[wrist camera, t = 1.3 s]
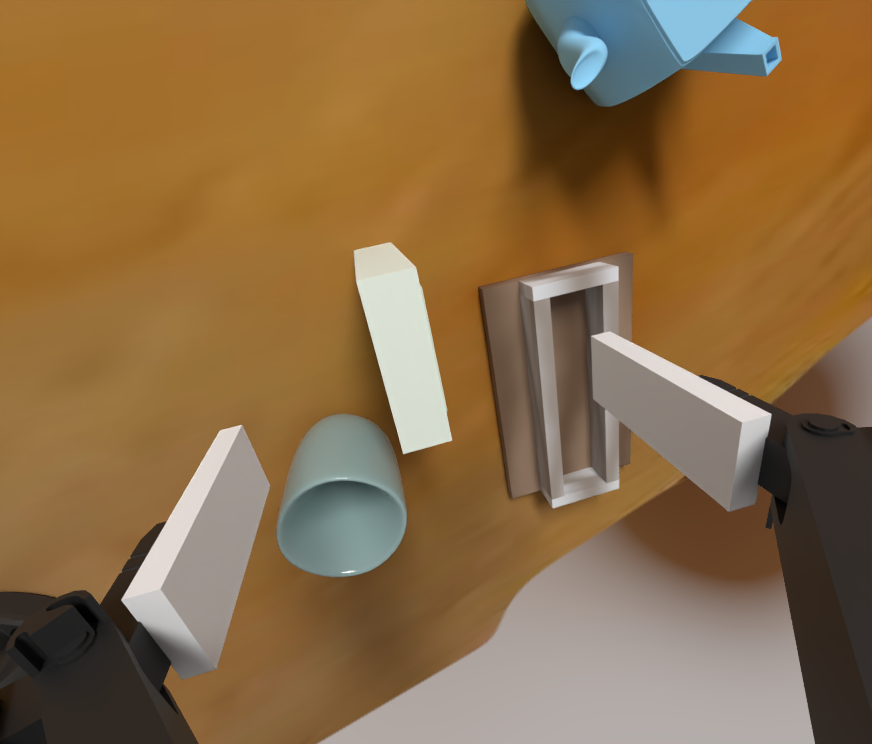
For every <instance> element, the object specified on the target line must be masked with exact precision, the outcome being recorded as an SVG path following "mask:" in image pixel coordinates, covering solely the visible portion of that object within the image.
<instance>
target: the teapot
mask: <svg viewBox="0 0 872 744" xmlns="http://www.w3.org/2000/svg"><path fill="white" fill-rule="evenodd" d="M750 2H751V0H526V5H527V7H528V9H529V11H530V13H531V14H532V16H533V17H534V19H535V21H536V22H537V24H538V25H539V27H540V29H541V30H542V32H543V33H544V35H545V36H546V38H547V39H548V41H549V42H550V44H551V45H552V47H553V48H554V49H555V51H556V52H557V54H558V57H559V60H560V63H561V65H562V67H563V69H564V70H565V72H566V73H567V74H568V75H569V76H570V77H571V85H572V87H573V88H574V89H575V90H581V89H583V90H584V91H585V93H586V94H587V95H588V96H589V98H590V99H591V100H592V101H593V102H594V103H595V104H596V105H597V106H602V107H611V106H614V105H617V104H620V103H622V102H625V101H627V100H629V99H631V98H633V97H635V96H637V95H639V94H641V93H643V92H644V91H646V90H648V89H650V88H651V87H653V86H655V85H656V84H658V83H659V82H661V81H663V80H664V79H666V78H667V77H669V76H670V75H672V74H673V73H675V72H677V71H678V70H680V69H689V70H700V71H711V72H722V73H733V74H744V75H755V76H767V75H768V74H769V73H770V72H771V71H772V70H773V69H774V68H775V67H776V66H777V64H778V63H779V62H780V61H781V60H782V58H781V52H780V47H779V42H778V37H775V38H773V37H771V36H769V35H767V34H765V33H763V32H761V31H759V30H757V29H756V28H754V27H752V26H750V25H748V24H746V23H744V22H742V21H740V20H739V19H737V18H736V17H737V15H738V14H739V13H740V12H741V11H742V10H743V9H744V8H745V7H746V6H747V5H748V4H749V3H750Z"/></svg>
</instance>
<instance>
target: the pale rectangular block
mask: <svg viewBox="0 0 872 744" xmlns="http://www.w3.org/2000/svg"><path fill="white" fill-rule="evenodd" d="M354 260H355V273H356V282H357V286H358V290H359V293H360V297H361V301H362V304H363V308H364V312H365V315H366V319H367V323H368V326H369V330H370V334H371V337H372V341H373V345H374V348H375V352H376V356H377V359H378V363H379V367H380V370H381V374H382V378H383V381H384V385H385V389H386V392H387V396H388V400H389V403H390V407H391V411H392V414H393V418H394V422H395V425H396V429H397V433H398V436H399V440H400V444H401V447H402V451H403V454H405V453H409V452H413V451H416V450H420V449H424V448H427V447H431V446H434V445H438V444H442V443H445V442H449V441H452V438H451V433H450V428H449V423H448V418H447V414H446V412H447V407H446V402H445V397H444V392H443V388H442V383H441V378H440V373H439V368H438V363H437V359H436V354H435V349H434V344H433V339H432V334H431V329H430V325H429V320H428V315H427V310H426V305H425V300H424V296H423V291H422V286H421V285H420V284H419V279H418V274H417V270H416V267H415V266H414V265H413V264H412V263H411V262H410V261H409V260H408V259H407V258H406V257H405V256H404V255H403V254H402V253H401V252H400V251H399V250H398V249H397V248H396V247H395V246H394V245H393V244H392V243H391V242H390V243H385V244H381V245H376V246H372V247H367V248H363V249H358V250H354Z"/></svg>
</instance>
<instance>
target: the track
mask: <svg viewBox="0 0 872 744" xmlns="http://www.w3.org/2000/svg"><path fill="white" fill-rule="evenodd" d="M632 267H633V254H632V253H627V252H623V253H619V254H615V255H610V256H606V257H602V258H598V259H594V260H590V261H585V262H581V263H577V264H573V265H569V266H564V267H560V268H556V269H552V270H548V271H544V272H539V273H535V274H531V275H527V276H523V277H518V278H514V279H510V280H506V281H502V282H498V283H493V284H489V285H485V286H481V287H478V288H479V294H480V301H481V308H482V315H483V321H484V328H485V335H486V342H487V348H488V355H489V362H490V369H491V375H492V382H493V389H494V396H495V403H496V409H497V416H498V423H499V430H500V436H501V443H502V450H503V457H504V463H505V470H506V477H507V484H508V490H509V493H510V495H511V497H512V499H513V498H516V497H520V496H523V495H526V494H530V493H533V492H537V491H540V490H541V492H542V493H543V495H544V496H545V498H546V499H547V501H548V502H549V504H550V505H551V507H552V508H556V507H559V506H562V505H566V504H569V503H572V502H576V501H579V500H582V499H586V498H589V497H592V496H595V495H599V494H602V493H605V492H609V491H612V490H615V489H619V467H621V466H624V465H628V464H630V439H631V430H630V429H629V428H628V427H626V426H625V425H624V424H623V423H622V422H620V421H619V420H618V419H617V418H616V417H614V416H613V415H612V414H611V413H610V412H608V411H607V410H606V409H605V408H604V407H602V406H601V405H600V404H599V403H597V402H596V401H595V400H594V399H593V383H592V351H591V336H593V335H597V334H601V333H605V332H609V331H610V332H612V333H614V334H616V335H618V336H620V337H622V338H624V339H626V340H628V341H630V342H632Z"/></svg>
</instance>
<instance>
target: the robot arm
mask: <svg viewBox="0 0 872 744" xmlns="http://www.w3.org/2000/svg"><path fill="white" fill-rule="evenodd" d="M591 351H592V383H593V399H594V400H595V401H596V402H597V403H599V404H600V405H601V406H602V407H604V408H605V409H606V410H607V411H608V412H610V413H611V414H612V415H613V416H614V417H616V418H617V419H618V420H619V421H620V422H622V423H623V424H624V425H625V426H626V427H628V428H629V429H630V430H631V431H632V432H634V433H635V434H636V435H637V436H638V437H640V438H641V439H642V440H643V441H644V442H646V443H647V444H648V445H649V446H650V447H652V448H653V449H654V450H655V451H657V452H658V453H659V454H660V455H661V456H663V457H664V458H665V459H666V460H667V461H669V462H670V463H671V464H672V465H673V466H675V467H676V468H677V469H678V470H679V471H681V472H682V473H683V474H684V475H685V476H687V477H688V478H689V479H690V480H691V481H693V482H694V483H695V484H696V485H697V486H699V487H700V488H701V489H703V491H705V492H706V493H707V494H708V495H710V496H711V497H712V498H713V499H714V500H716V501H717V502H718V503H719V504H720V505H722V506H723V507H724V508H725V509H726V510H728V511H729V512H730V511H733V510H736V509H740V508H743V507H746V506H749V505H753V504H755V503H756V497H757V492H758V486H759V485H760V486H762V487H763V488H764V489H766V490H767V491H769V492H770V493H771V494H772V498H771V503H770V508H769V513H768V518H767V523H766V528H769V529H771V527H772V524H773V523H774V528H775V534H776V539H777V545H778V549H779V555H780V561H781V565H782V571H783V576H784V582H785V587H786V592H787V598H788V603H789V608H790V613H791V619H792V624H793V629H794V635H795V640H796V645H797V650H798V656H799V661H800V666H801V672H802V676H803V682H804V687H805V692H806V697H807V703H808V708H809V714H810V719H811V724H812V729H813V735H814V740H815V744H872V427H862V428H857V427H856V426H855V425H853V424H851V423H849V422H847V421H845V420H843V419H839V418H836V417H833V416H828V415H822V414H799V415H794V416H793V415H791V414H788V413H787V412H785V411H783V410H781V409H779V408H777V407H774V406H773V405H771V404H768V403H766V402H764V401H762V400H760V399H758V398H756V397H754V396H752V395H751V396H749V394H748V393H746V392H744V391H742V390H740V389H736V387H734V386H732V385H730V384H728V383H726V382H724V381H722V380H718V379H715V378H711V377H707V376H703V375H700V376H696V375H694V374H692V373H690V372H688V371H686V370H684V369H682V368H680V367H679V366H677V365H675V364H673V363H671V362H669V361H667V360H665V359H663V358H661V357H659V356H657V355H655V354H653V353H651V352H649V351H647V350H645V349H643V348H641V347H639V346H638V345H636V344H634V343H632V342H630V341H628V340H626V339H624V338H622V337H620V336H618V335H616V334H614V333H612V332H610V331H609V332H605V333H601V334H597V335H593V336H591ZM269 488H270V484H269V482H268V480H267V478H266V476H265V473H264V471H263V469H262V467H261V465H260V463H259V460H258V458H257V456H256V454H255V452H254V449H253V447H252V445H251V443H250V441H249V439H248V436H247V434H246V432H245V430H244V428H243V426H242V425H239V426H235V427H232V428H228V429H224V430H220V431H219V433H218V435H217V436H216V438H215V440H214V442H213V443H212V445H211V447H210V448H209V450H208V452H207V454H206V455H205V457H204V459H203V460H202V462H201V464H200V466H199V467H198V469H197V471H196V472H195V474H194V476H193V478H192V479H191V481H190V483H189V485H188V486H187V488H186V490H185V491H184V493H183V495H182V497H181V498H180V500H179V502H178V503H177V505H176V507H175V509H174V510H173V512H172V514H171V515H170V517H169V519H168V521H166V522H163V523H159V524H157V525H156V526H155V527H153V528H152V529H151V530H150V531H149V532H148V533H147V534H146V535H145V536H144V537H143V538H142V539H141V540H140V542H139V543H138V545H137V547H136V548H135V550H134V551H133V553H132V555H131V556H130V557H131V559H129V560H128V561H127V563H126V564H125V566H124V567H123V569H122V573H120V574H119V575H118V577H117V578H116V580H115V582H114V583H113V585H112V586H111V588H110V590H109V591H108V593H107V594H106V596H105V598H104V599H103V601H102V602H101V604H100V605H99V604H98V602H97V601H96V600H95V599H94V597H93V596H92V595H91V594H90V593H88V592H87V591H86V590H82V591H73V592H70V593H67V594H65V595H62V596H60V597H58V598H56V599H55V598H51V597H47V596H42V595H36V594H29V593H17V592H0V744H198V742H197V740H196V738H195V736H194V734H193V733H192V731H191V729H190V727H189V725H188V724H187V722H186V720H185V718H184V716H183V715H182V713H181V711H180V709H179V707H178V706H177V704H176V702H175V700H174V698H173V697H172V695H171V693H170V691H169V690H168V689H167V688H166V686H165V685H164V684H163V682H164V680H165V677H166V675H167V672H168V670H169V667H170V665H171V666H172V667H173V668H174V669H175V671H176V672H177V673H178V675H179V676H180V677H181V678H182V680H183V679H186V678H189V677H192V676H196V675H199V674H202V673H205V672H209V671H212V670H215V669H217V665H218V662H219V658H220V655H221V652H222V648H223V645H224V641H225V638H226V635H227V631H228V628H229V624H230V621H231V618H232V614H233V611H234V607H235V604H236V601H237V597H238V594H239V590H240V587H241V584H242V580H243V577H244V573H245V570H246V566H247V563H248V560H249V556H250V553H251V549H252V546H253V543H254V539H255V536H256V532H257V529H258V526H259V522H260V519H261V515H262V512H263V509H264V505H265V502H266V498H267V495H268V492H269Z"/></svg>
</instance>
